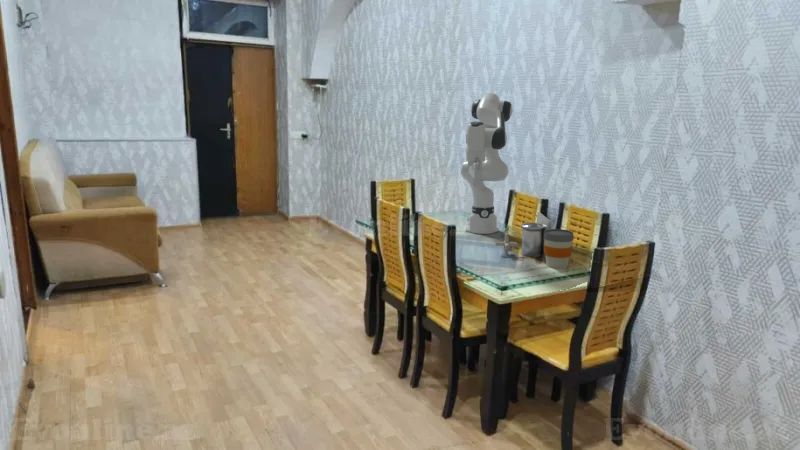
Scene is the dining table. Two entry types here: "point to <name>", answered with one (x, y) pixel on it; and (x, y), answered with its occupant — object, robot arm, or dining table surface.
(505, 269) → the dining table surface
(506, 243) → the pipe connector
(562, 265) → the reusable coffee cup
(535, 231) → the duct stub
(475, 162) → the robot arm
